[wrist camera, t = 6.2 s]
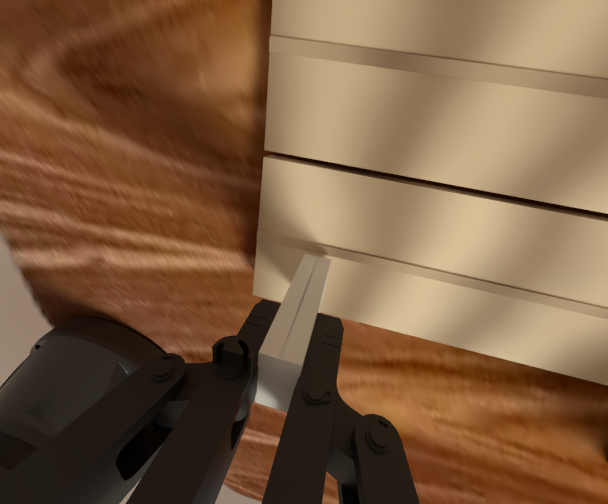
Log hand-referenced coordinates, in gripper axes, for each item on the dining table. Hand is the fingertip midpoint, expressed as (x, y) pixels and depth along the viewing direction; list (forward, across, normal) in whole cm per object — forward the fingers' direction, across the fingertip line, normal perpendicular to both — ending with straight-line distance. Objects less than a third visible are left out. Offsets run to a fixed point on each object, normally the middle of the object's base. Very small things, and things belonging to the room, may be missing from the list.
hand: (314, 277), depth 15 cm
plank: (+2, +9, +2) cm, 9 cm away
